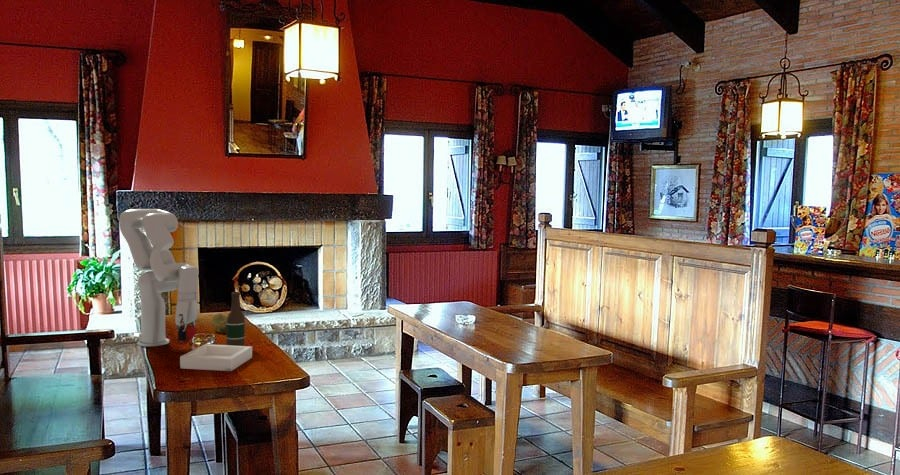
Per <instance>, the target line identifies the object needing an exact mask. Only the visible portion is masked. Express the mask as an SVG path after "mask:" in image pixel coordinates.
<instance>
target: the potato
mask: <svg viewBox="0 0 900 475" xmlns="http://www.w3.org/2000/svg"><path fill="white" fill-rule="evenodd" d="M227 317H228V316H226V314H223V313H216V314H215V315H213V317H212V320H211V323H212V324H211V325H212V327H213V328H214V329H215V331H216V332H217V333H220V334H226V322H227Z"/></svg>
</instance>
